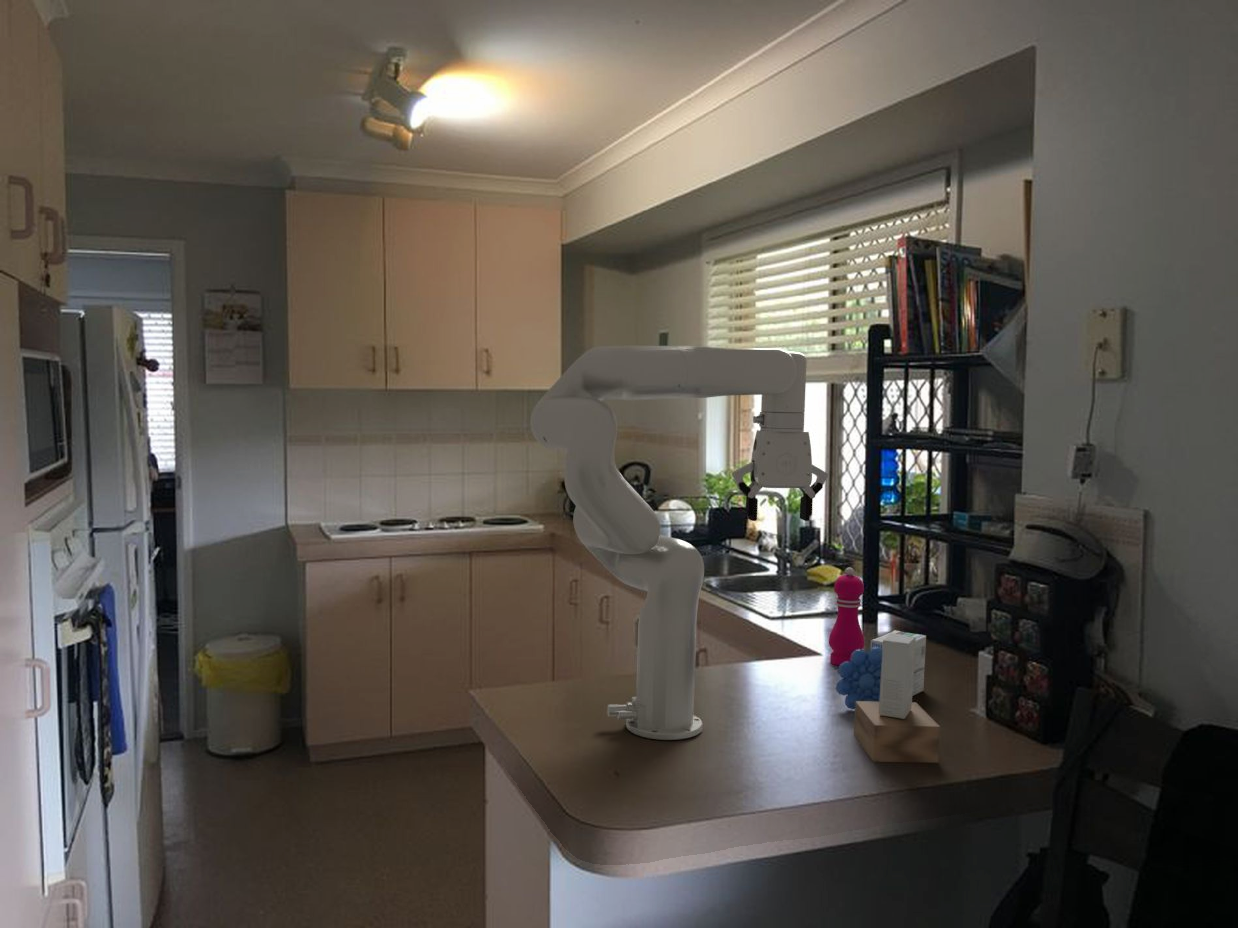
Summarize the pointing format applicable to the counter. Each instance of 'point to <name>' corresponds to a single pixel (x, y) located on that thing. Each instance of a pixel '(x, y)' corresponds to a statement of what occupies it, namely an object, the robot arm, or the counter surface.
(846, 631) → the pepper mill
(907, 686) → the skincare box
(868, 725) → the wooden block
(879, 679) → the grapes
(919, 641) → the light bulb box
